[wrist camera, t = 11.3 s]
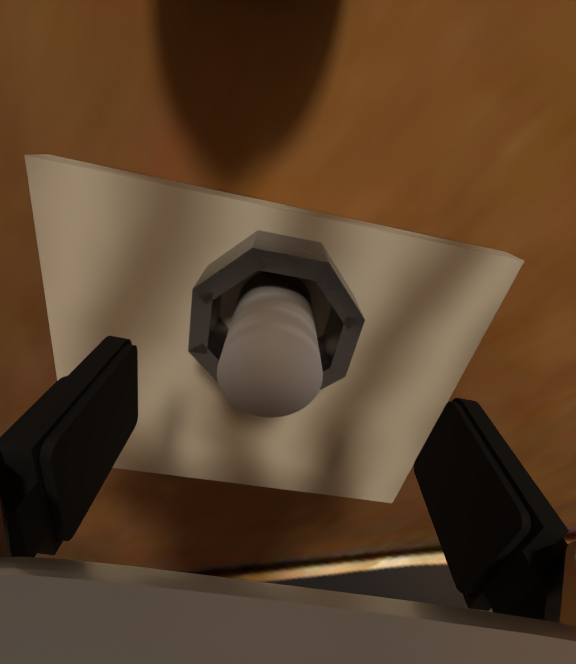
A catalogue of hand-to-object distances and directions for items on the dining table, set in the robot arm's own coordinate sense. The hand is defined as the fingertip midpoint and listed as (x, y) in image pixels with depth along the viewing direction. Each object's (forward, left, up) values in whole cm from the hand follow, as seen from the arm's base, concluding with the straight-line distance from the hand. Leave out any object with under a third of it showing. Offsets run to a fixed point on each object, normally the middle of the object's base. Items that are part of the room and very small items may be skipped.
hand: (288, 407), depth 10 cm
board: (+1, +5, -9) cm, 10 cm away
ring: (+1, 0, -8) cm, 8 cm away
